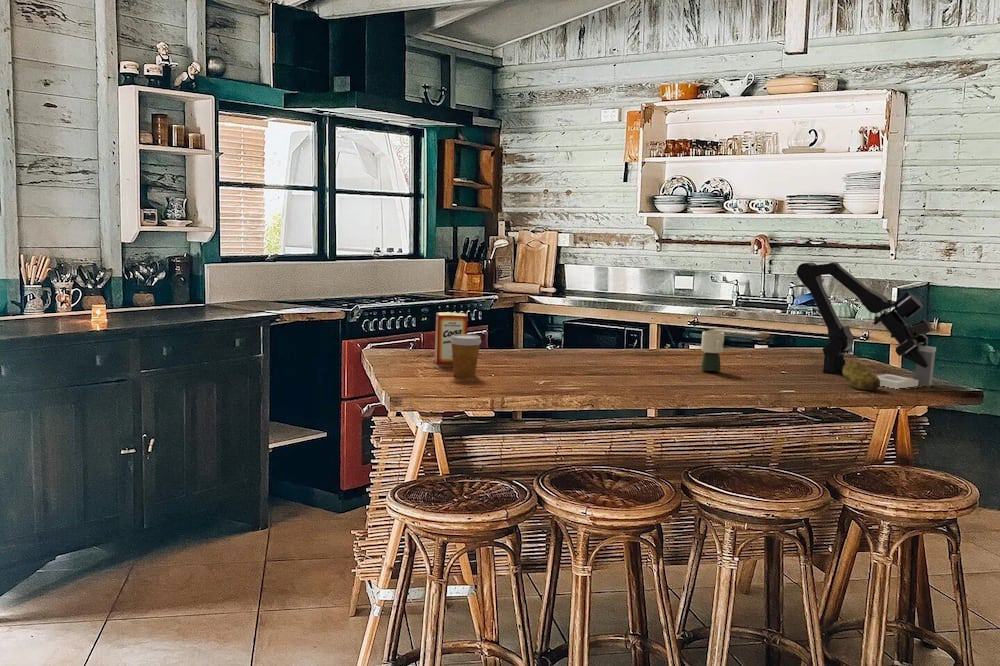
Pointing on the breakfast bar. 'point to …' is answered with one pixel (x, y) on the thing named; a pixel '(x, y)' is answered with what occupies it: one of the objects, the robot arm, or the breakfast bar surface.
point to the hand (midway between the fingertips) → (929, 365)
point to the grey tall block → (926, 373)
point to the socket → (896, 381)
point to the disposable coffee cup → (465, 354)
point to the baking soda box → (448, 334)
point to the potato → (860, 376)
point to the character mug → (712, 350)
